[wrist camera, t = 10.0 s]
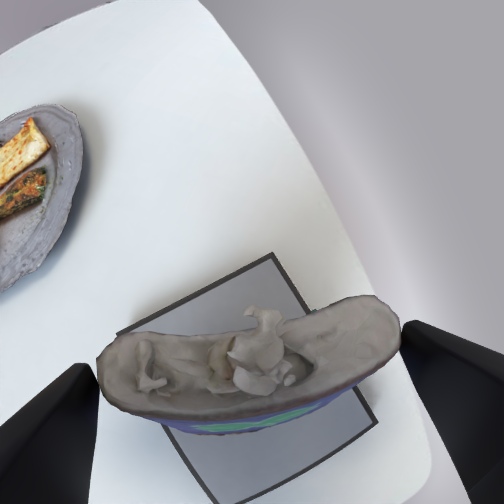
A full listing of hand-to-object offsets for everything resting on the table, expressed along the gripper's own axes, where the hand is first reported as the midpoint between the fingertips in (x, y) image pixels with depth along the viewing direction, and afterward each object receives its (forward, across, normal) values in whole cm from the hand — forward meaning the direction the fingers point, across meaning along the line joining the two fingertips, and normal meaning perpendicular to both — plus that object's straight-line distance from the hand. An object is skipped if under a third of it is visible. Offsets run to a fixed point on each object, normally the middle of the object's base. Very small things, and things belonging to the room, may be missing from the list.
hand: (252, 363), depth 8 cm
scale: (+8, 0, +10) cm, 13 cm away
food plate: (+21, +24, -3) cm, 33 cm away
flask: (+5, 0, +8) cm, 9 cm away
